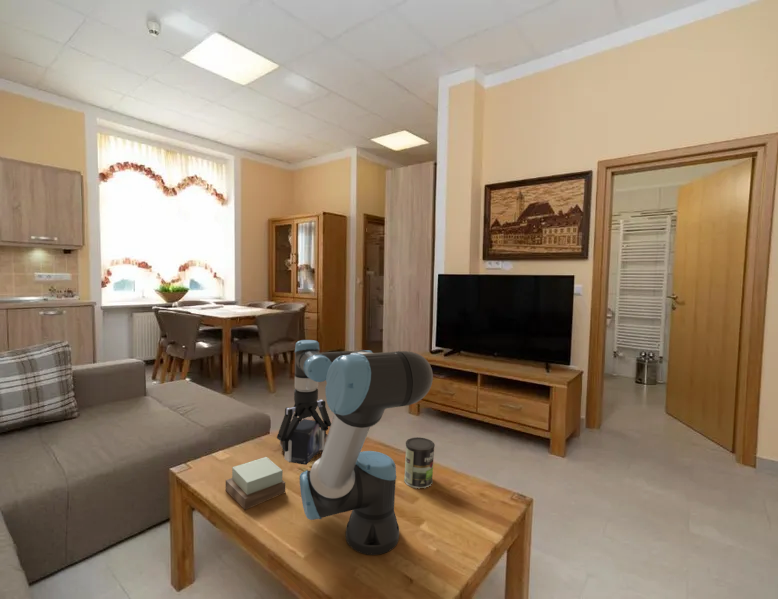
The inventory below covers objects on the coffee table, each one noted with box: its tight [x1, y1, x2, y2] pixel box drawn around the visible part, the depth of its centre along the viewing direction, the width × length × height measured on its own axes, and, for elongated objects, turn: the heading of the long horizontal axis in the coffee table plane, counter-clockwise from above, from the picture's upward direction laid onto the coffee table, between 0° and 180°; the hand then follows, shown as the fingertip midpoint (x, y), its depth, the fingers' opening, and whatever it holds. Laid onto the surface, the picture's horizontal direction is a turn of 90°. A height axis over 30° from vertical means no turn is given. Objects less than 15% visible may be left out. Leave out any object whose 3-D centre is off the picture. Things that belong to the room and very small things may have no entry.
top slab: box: [231, 456, 283, 495], centre depth 130 cm, size 12×12×4 cm
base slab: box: [225, 477, 286, 510], centre depth 130 cm, size 14×14×4 cm
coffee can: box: [403, 437, 435, 490], centre depth 140 cm, size 10×10×14 cm
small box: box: [290, 418, 321, 466], centre depth 126 cm, size 11×6×10 cm, turn 168°
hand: (304, 454), depth 126 cm, fingers closed on small box, 12 cm apart
